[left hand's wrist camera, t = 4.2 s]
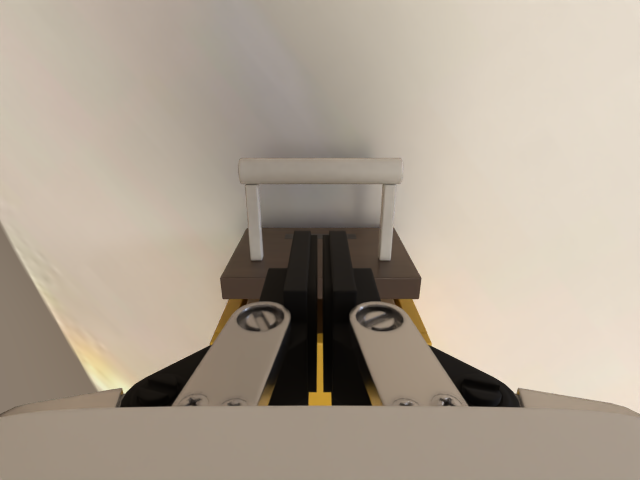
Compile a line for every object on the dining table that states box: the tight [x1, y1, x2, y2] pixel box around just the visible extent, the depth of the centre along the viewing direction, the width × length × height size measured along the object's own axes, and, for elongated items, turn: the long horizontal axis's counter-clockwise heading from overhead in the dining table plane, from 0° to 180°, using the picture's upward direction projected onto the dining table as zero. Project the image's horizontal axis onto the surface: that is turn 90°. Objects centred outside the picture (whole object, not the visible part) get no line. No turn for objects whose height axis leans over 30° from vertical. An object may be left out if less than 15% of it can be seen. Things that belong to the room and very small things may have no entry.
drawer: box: [220, 158, 421, 333], centre depth 23 cm, size 22×10×7 cm, turn 0°
